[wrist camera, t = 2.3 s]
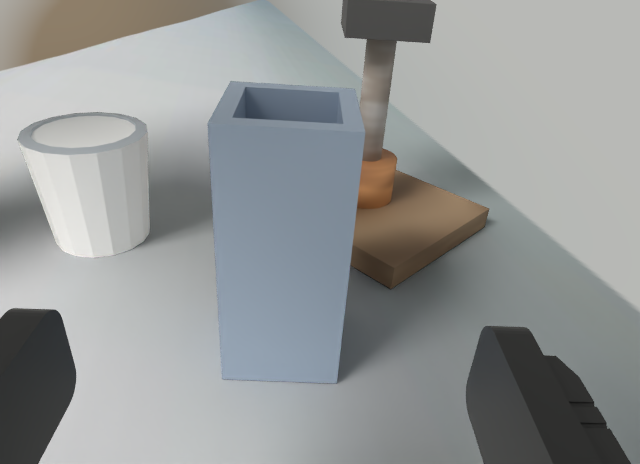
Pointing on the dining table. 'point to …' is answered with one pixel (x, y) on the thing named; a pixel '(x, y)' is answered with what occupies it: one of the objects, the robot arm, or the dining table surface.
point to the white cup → (91, 180)
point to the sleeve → (284, 226)
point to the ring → (388, 19)
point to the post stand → (399, 194)
